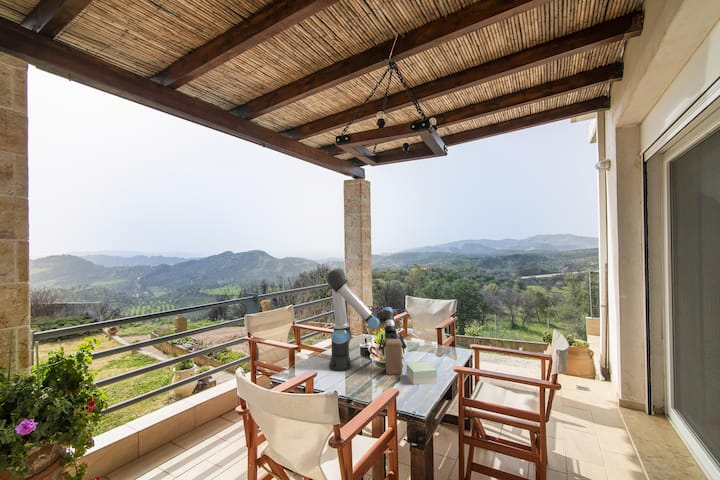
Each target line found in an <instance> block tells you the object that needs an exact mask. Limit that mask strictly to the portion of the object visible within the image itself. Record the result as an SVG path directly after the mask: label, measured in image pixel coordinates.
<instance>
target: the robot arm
mask: <svg viewBox="0 0 720 480" xmlns="http://www.w3.org/2000/svg"><path fill="white" fill-rule="evenodd" d="M325 279H326V283H327V285H328V286H329V287H328V288H329V290H330V291H331V296H332V303H333V313H334V323H335V325H334V326H333V332H332V333H331V338H330V339H331V357H330V359H329V364H328V368H329V370H330V371H335V372H345V371H349V370H351V369H352V368H353V364H352V360H351V357H350V342H351V340H352V337H353V334H352V331H351V325H350V324H349V323H348V317H347V315H348V314H347V308H346V307H347V306H346V302H347V304H348V305H349V306H350V307H351V308H352V309H354V311H355V312H356V313H357V314H358V315H359V316H360V317H361V318H362V319H363V321H365V322H366V324H367V327H369V329H372V330H376V329H378V328H379V325H380V324H381V323H383V327H384V334H382V333H381V334H380V342H379V344H378V345H379V346H378V350H381V354H382V355H383V359H384V361H386V353H385V342H384V343H383V340H384V339H385V340H386V339H400V340H401V343H402V360H404V358H405V356H404V355H405V350H406V348H407V344H406V341H405V340H404V339H403V336H402V334H401V333H399V334H398V333H397V328H396V323H395V317H394V315H395V314H394V311H393V308H392V307H390V306H385V307H383V308H382V309H381V311H377V312H376V311H375V312H373V311H372V310H371V309H370V308H369V307H368V306H367V305H366V303H364V302H363V301H362V300H361V298H360V297H359V296H358V295H357V294H356V293H355V292H354V290H352V289H351V288H350V287H349V285H348V283H347V281H346V274H345V272H344V271H343V270H341V269H337V268H335V269H333V270H331V271H329V272H327V275H326V278H325Z"/></svg>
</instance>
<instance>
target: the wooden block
mask: <svg viewBox="0 0 720 480" xmlns="http://www.w3.org/2000/svg"><path fill="white" fill-rule="evenodd" d="M384 343H385V353H386V360H385V373H386V375H402V374H403V359H402V343H401V340H400V339H399V338H397V339H386V338H385V341H384Z"/></svg>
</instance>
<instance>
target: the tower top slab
mask: <svg viewBox="0 0 720 480" xmlns="http://www.w3.org/2000/svg"><path fill="white" fill-rule="evenodd" d="M406 370H407V371H408V372H409V373H410V375H411V376H412V377H413V378H414V379H418V378H432V377H436V378H438V374H437V373H438V371H437V369H436V368H435V367H434V366H433V365H432V364H431V363H430V362H428V361H426V362H424V361H423V362H410V363H409V362H408V363H406Z"/></svg>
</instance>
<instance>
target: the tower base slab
mask: <svg viewBox="0 0 720 480" xmlns="http://www.w3.org/2000/svg"><path fill="white" fill-rule="evenodd" d="M405 373H406V374H405V375H406V377H407V379H408V380H409V381H410V382H411V384H412V385H414V386H415V385H416V386H418V385H429V384H431V385H432V384H437V381H438V380H437V377H432V378H418V379H414V378H413V377H412V376H411V375H410V373H409V372H408V371H407V369H406V371H405Z"/></svg>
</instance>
